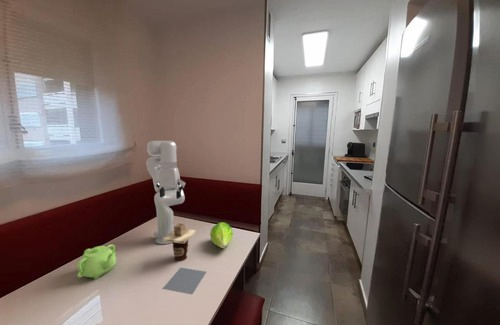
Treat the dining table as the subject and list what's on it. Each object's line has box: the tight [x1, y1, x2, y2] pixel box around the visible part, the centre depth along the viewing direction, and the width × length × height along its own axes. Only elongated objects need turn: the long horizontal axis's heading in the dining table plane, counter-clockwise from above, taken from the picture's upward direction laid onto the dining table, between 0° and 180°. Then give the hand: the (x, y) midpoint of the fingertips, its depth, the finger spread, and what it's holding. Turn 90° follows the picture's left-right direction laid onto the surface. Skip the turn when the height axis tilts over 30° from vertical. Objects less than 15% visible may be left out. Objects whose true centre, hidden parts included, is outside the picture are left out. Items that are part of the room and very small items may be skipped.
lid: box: [163, 222, 197, 244], centre depth 104 cm, size 12×12×6 cm
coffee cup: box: [172, 240, 189, 262], centre depth 105 cm, size 9×8×13 cm
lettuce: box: [209, 221, 234, 249], centre depth 118 cm, size 14×20×12 cm
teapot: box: [76, 244, 117, 280], centre depth 95 cm, size 16×14×13 cm
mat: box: [162, 267, 207, 295], centre depth 90 cm, size 14×14×1 cm
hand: (170, 197), depth 104 cm, fingers open, 9 cm apart
